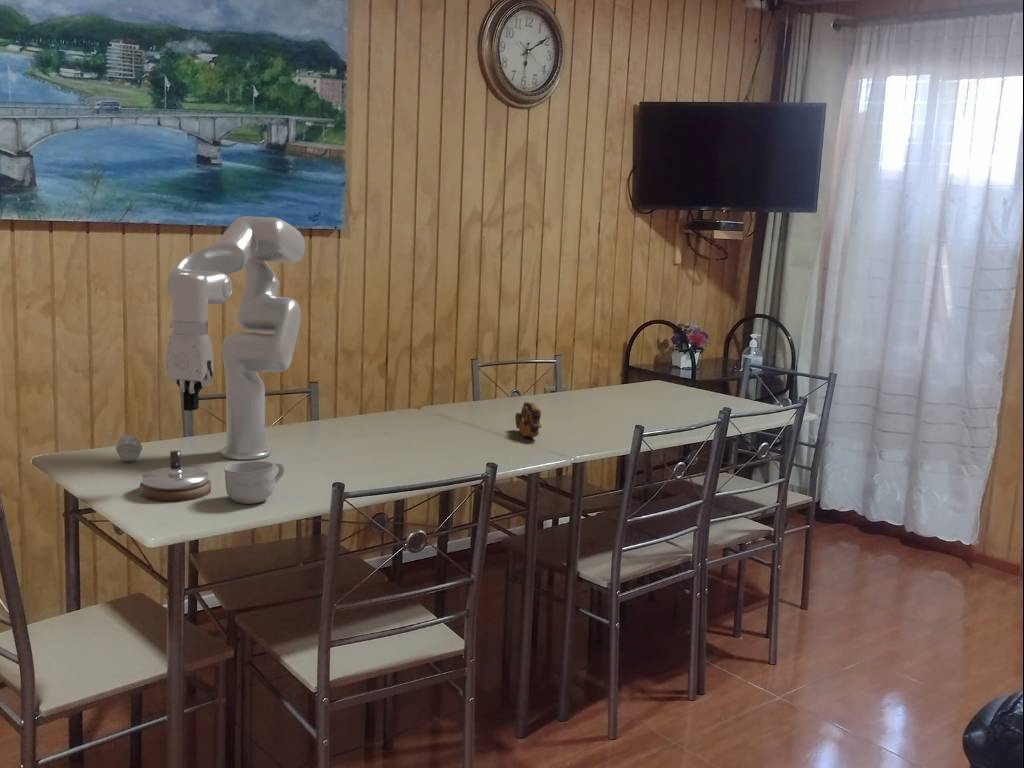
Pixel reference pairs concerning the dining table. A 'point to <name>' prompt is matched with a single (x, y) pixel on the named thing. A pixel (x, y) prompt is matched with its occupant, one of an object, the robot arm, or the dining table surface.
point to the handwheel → (175, 476)
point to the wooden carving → (529, 420)
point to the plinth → (175, 493)
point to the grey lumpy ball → (128, 448)
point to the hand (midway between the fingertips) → (191, 409)
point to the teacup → (251, 480)
